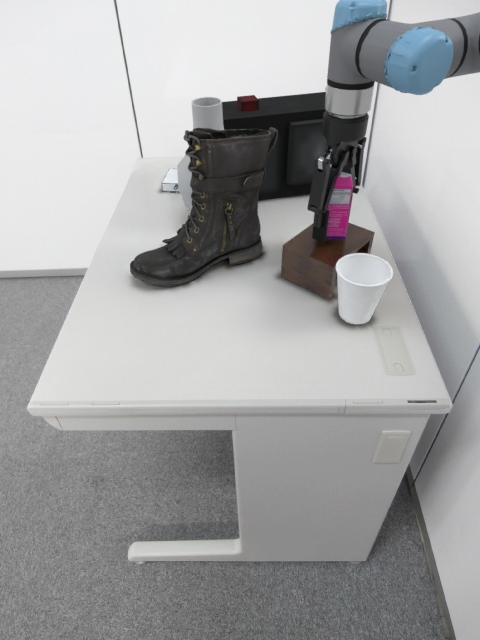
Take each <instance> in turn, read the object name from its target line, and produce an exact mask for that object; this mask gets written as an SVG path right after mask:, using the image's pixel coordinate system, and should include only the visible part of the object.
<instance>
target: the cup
mask: <svg viewBox="0 0 480 640" xmlns="http://www.w3.org/2000/svg"><path fill="white" fill-rule="evenodd" d="M336 271H337V283H336V284H337V301H338V302H337V303H338V304H337V305H338V307H337V308H338V315H339V317H340V318H341V319H342V320H343V321H345V322H346V323H347V324H350V325H364V324H366V323H368V322H369V321H370V320H371V318H372V317H373V314H374V313H375V311H376V308H377V306H378V304H379V302H380V300H381V298H382V296H383V294H384V292H385V290H386V288H387V286H388V285H389V282H390V281H391V280H392V278H393V276H394V270H393V267H392V265H391V264H390V263H389V262H388V261H387V260H386V259H383V258H382V257H380V256H377V255H375V254H371V253H370V254H366V253H353V254H348V255H346V256H344V257H342V258H340V259H339V260H338V262H337V263H336Z"/></svg>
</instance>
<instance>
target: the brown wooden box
mask: <svg viewBox="0 0 480 640" xmlns="http://www.w3.org/2000/svg"><path fill="white" fill-rule="evenodd" d="M312 233H313V223H311V224H310V225H308V226H307V227H306V228H304V229H303V230H302V231H300V232H299V233H297V234H296V235H295V236H293V237H292V238H290V239H289V240H287V241H286V242H285V243H283V244H282V247H281V249H282V250H281V265H280V266H281V267H280V269H281V270H280V278H281V279H282V278H283V279H285V280H287V281H289V282H291V283H293V284H295V285H297V286H299V287H301V288H303V289H305V290H308V291H309V292H312V293H314V294H316V295H318V296H320V297H322V298H324V299H327V300H330V299H331V298H332V297H333V296H334V293H335V285H336V284H338V283H337V271H336V263H337V262H338V260H339V259H340V258H342V257H344V256H346V255H348V254H353V253H366V254H371V251H372V246H373V242H374V238H375V234H376V233H375V231H373V230H371V229H367V228H364V227H362V226H359V225H357V224H353V223H351V222H348V225H347V232H346V239H332V238H326V241H325V242H324V243H323V242H321V241H318V240H316V239H313V238H312Z"/></svg>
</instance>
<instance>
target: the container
mask: <svg viewBox="0 0 480 640" xmlns="http://www.w3.org/2000/svg"><path fill="white" fill-rule="evenodd" d="M161 190H162V192H169V193H170V194H176V193H177V192H179V190H178V172H177V168H169V169H168V170H167V172H166V174H165V176H164V177H163V179H162V182H161ZM179 193H180V192H179Z"/></svg>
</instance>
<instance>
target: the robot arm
mask: <svg viewBox="0 0 480 640" xmlns="http://www.w3.org/2000/svg"><path fill="white" fill-rule="evenodd" d="M387 12H388V2H387V0H338V1H337V2H336V4H335V7H334V12H333V17H332V18H333V19H332V26H331V30H330V43H329V53H328V64H327V65H328V66H327V76H326V78H327V79H326V86H325V88H324V89H325V92H326V97H325V106H324V108H325V110H326V111H325V112H324V114H323V123H322V135H323V136H324V137H325V138H326V140H327V146H326V149H325V154H324V155H323V156H322V157H320V156H316V157H315V159H314V174H313V180H312V185H311V191H310V194H309V197H308V201H307V207H306V208H307V211H309V212H312V213H313V223H312V224H313V233H312V238H313V239H316V240H318V241H321V242H323V243H324V242H325V241H326V234H327V227H328V219H329V211H328V210H327V208H328V205H329V202H330V199H331V196H332V193H333V190H334V187H335V184H336V180H337V177H338V176H340V175H341V173H342V172H345V173H349V174H351V176H352V182H353V190H352V197H351V204H350V211H349V218H348V222H349V221H350V215H351V209H352V202H353V196H354V194H356V195H357V194H358V193H359V192H360V188H358V187H360V186H361V183H362V175H363V164H364V153H365V147H366V143H367V137H366V134H367V130H368V124H369V119H370V118H369V117H370V116H369V112H370V111H371V109H372V102H373V95H374V88H375V83H377V84H381V85H384V86H386V87H389V88H390V89H393V90H394V91H396V92H399V93H402V94H411V95H413V96H414V95H415V96H423V95H427V94H430V93H431V92H432V91H433V90H434V89H435V88H436V87H438V86H440V85H441V84H442V83H443V81H444V80H446V79H449V78H456V77H461V76H466V75H471V74H478V73H480V11H479V12H476V13H472V14H466V15H462V16H457V17H448V18H443V19H435V20H434V19H433V20H428V21H427V20H426V21H421V22H415V23H408V22H400V21H395V20H390V19H387V18H388V13H387ZM330 167H331V168H334V169H337V170H332V169H330ZM349 223H350V222H349Z"/></svg>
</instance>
